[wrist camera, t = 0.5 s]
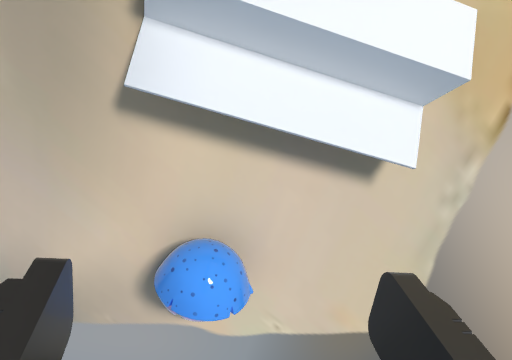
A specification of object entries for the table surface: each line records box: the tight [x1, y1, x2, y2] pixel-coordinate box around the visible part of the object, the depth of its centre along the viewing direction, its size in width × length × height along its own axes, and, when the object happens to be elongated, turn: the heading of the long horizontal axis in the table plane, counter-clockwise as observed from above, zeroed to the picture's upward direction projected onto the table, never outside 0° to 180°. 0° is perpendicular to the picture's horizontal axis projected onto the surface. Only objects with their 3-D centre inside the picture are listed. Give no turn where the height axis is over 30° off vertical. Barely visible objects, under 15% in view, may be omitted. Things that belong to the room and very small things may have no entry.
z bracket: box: [124, 0, 477, 169], centre depth 33 cm, size 12×25×6 cm
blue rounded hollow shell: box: [154, 238, 253, 322], centre depth 44 cm, size 10×12×10 cm
